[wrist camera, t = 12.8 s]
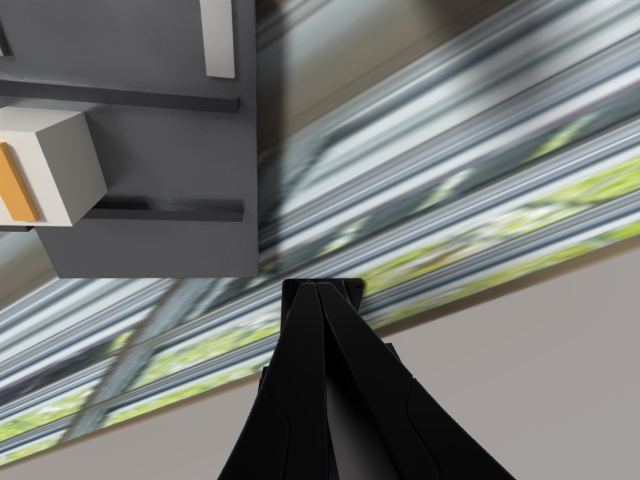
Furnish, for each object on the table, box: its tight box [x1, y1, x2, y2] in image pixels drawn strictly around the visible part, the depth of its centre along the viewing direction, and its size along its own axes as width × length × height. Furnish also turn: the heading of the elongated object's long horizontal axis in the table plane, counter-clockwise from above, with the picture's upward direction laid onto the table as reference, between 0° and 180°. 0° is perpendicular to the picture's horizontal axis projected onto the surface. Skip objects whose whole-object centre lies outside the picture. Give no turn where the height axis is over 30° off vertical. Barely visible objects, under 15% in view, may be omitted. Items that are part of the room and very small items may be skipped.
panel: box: [0, 0, 259, 278], centre depth 16 cm, size 16×12×3 cm
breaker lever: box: [0, 106, 108, 226], centre depth 13 cm, size 4×3×4 cm
